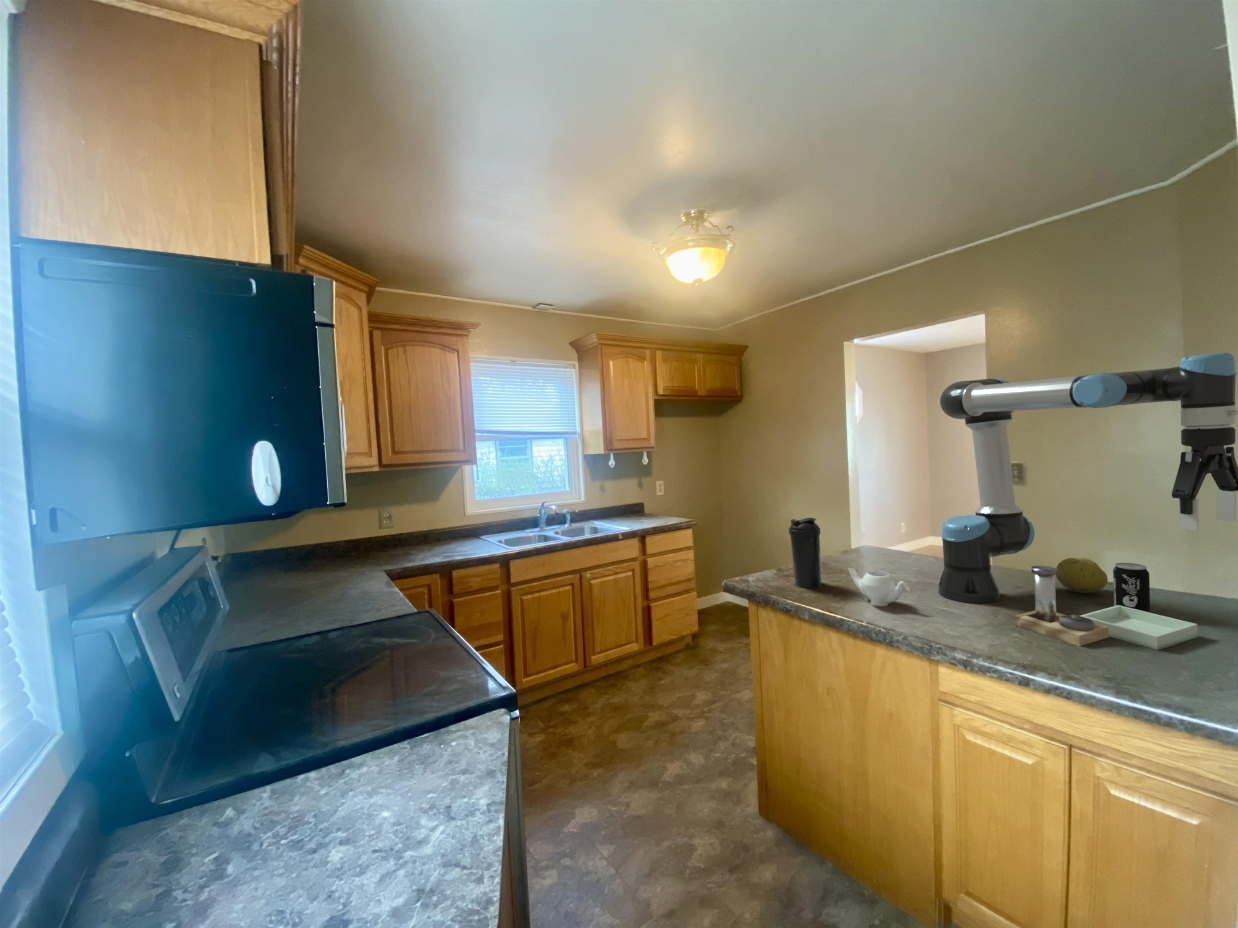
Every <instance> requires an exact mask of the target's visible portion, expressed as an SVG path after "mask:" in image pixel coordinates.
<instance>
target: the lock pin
mask: <svg viewBox="0 0 1238 928" xmlns="http://www.w3.org/2000/svg"><path fill="white" fill-rule="evenodd" d="M1031 573H1033V583H1034V584H1033V585H1034V586H1033V587H1034V611H1035V615H1036V619H1039V620H1042V621H1045V622H1049V623H1053V622H1056V621H1057V618H1056V613H1057V595H1056V574H1057V567H1053V566H1047V565H1033V566H1031Z"/></svg>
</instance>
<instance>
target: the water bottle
mask: <svg viewBox="0 0 1238 928" xmlns="http://www.w3.org/2000/svg"><path fill="white" fill-rule="evenodd" d="M815 521H817V519H816V518H815V517H806V518H802V519H799V520H798V519H796V518H793V519H791V520H790V523H791V524H790V526H789V527H788V534H789V536H790V547H791V556H792V564H793V577H794V584H795V586H796V587H799V588H803V589H816V588H820V587H821V586H822V580H821V579H822V576H821V573H822V571H821V570H822V568H821V564H822V563H821V547H820V546H821V545H820V544H821V543H820V542H821V541H820V536H821V527H819V525H818V524H817V523H816V522H815Z"/></svg>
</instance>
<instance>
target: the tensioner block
mask: <svg viewBox="0 0 1238 928" xmlns="http://www.w3.org/2000/svg"><path fill="white" fill-rule="evenodd" d="M1056 618H1057V621H1056V622H1053V623H1049V622H1045V621H1042V620H1039V619H1036V615H1035V610H1032V611H1027V612H1025V613H1021V614H1016V615H1014V626H1016V627H1019V628H1022V629H1025V630H1029V631H1032V632H1035V633H1038V634H1040V635H1045V636H1047V637H1050V638H1053V639H1057V640H1060V641H1062V642H1065V643H1069V644H1072V645H1075V646H1078V647H1081V646H1085V645H1088V644H1091V643H1094V642H1098V641H1100V640H1104V639H1107V638H1109V637H1110V636H1109V630H1108V627H1107V626H1103V625H1100V624H1096V623H1093V621H1092V620H1090V619H1088V618H1085V617H1080V615H1078V614H1068V615H1067V614H1063V613H1060V612H1056Z"/></svg>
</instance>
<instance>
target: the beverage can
mask: <svg viewBox="0 0 1238 928" xmlns="http://www.w3.org/2000/svg"><path fill="white" fill-rule="evenodd" d="M1114 565H1115V567H1114V568H1113V569H1112V579H1113V581H1112V583H1113V606H1117V605H1120V606H1124V607H1128V608H1132V609H1136V610H1141V611H1145V612H1149V613H1150V612H1151V591H1150V590H1151V589H1150V588H1151V587H1150V586H1151V585H1150V572H1149V570H1148V569H1147V566H1146V565H1144V564H1140V563H1135V562H1134V563H1133V562H1132V563H1131V562H1118V563H1115V564H1114Z"/></svg>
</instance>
